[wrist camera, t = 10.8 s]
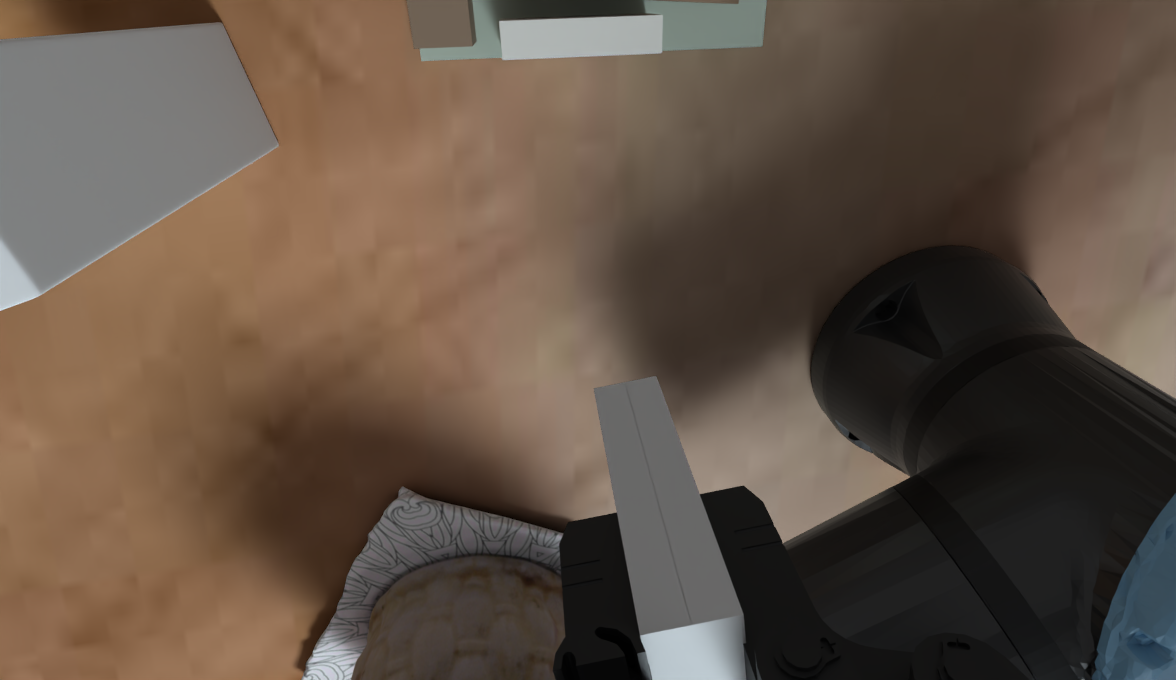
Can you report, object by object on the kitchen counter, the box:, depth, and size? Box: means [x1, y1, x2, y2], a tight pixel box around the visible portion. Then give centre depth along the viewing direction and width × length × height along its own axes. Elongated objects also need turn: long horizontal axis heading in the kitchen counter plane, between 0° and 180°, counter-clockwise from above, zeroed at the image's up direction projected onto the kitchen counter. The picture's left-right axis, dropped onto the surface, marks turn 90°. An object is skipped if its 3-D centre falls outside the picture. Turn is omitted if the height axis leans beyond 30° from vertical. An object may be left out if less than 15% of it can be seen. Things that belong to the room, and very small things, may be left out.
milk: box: [0, 22, 279, 311], centre depth 21 cm, size 6×6×22 cm
